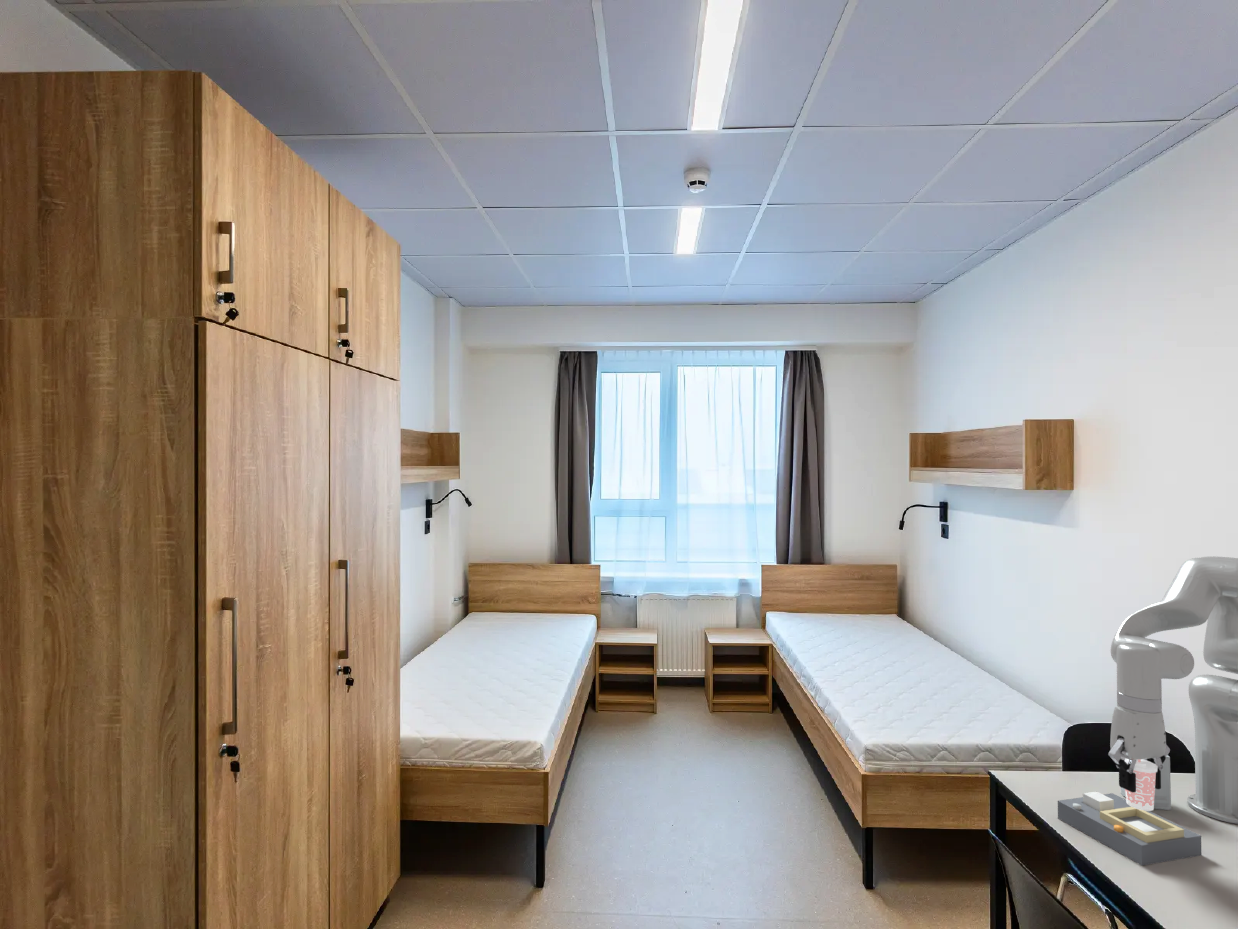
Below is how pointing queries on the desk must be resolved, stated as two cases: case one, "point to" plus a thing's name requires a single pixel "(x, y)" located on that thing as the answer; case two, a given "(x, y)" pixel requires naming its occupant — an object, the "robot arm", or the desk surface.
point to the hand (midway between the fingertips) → (1139, 787)
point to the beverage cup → (1143, 785)
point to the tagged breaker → (1141, 826)
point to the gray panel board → (1131, 831)
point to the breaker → (1098, 801)
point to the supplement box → (1164, 794)
